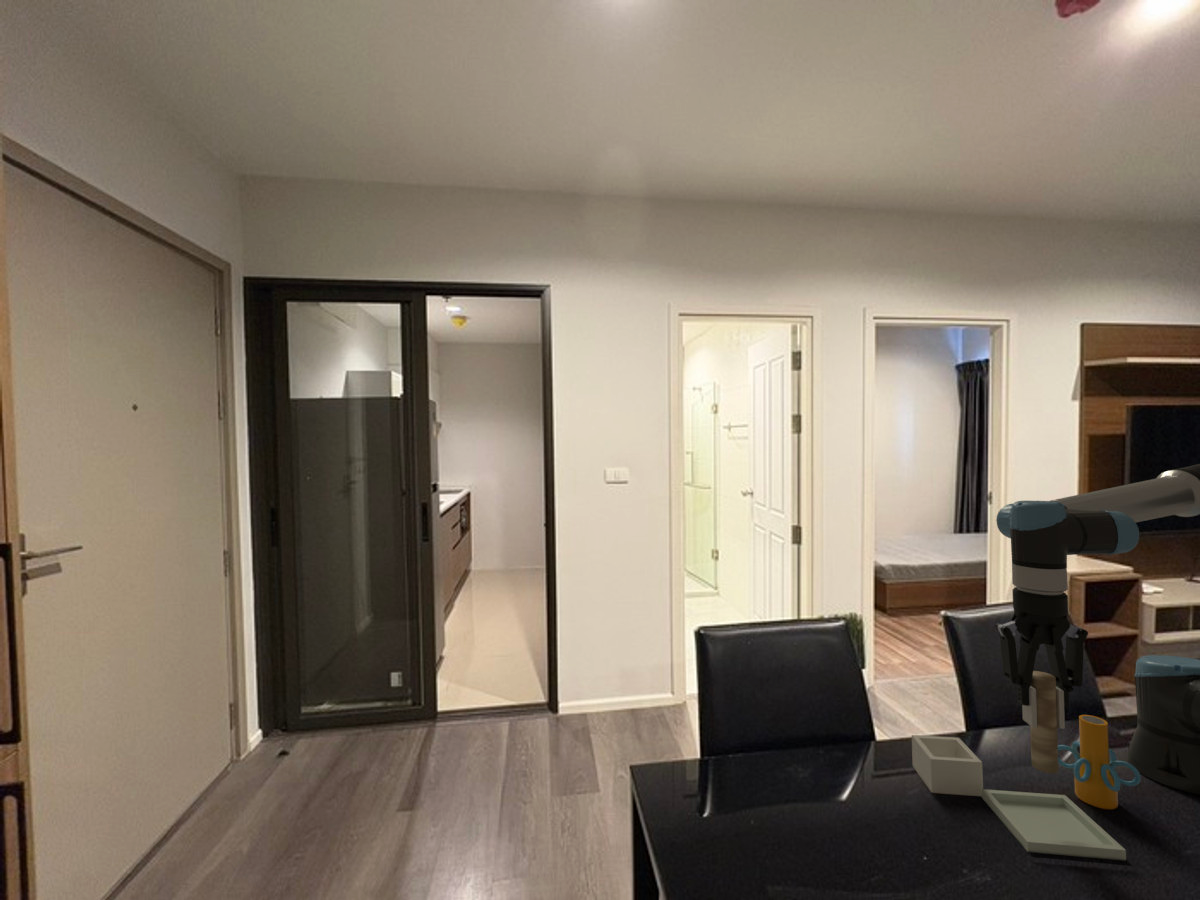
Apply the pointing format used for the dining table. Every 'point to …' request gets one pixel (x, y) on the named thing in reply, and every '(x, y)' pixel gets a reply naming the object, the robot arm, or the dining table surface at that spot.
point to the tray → (1052, 825)
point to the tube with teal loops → (1096, 765)
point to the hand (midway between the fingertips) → (1043, 723)
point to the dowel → (1045, 724)
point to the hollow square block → (947, 765)
